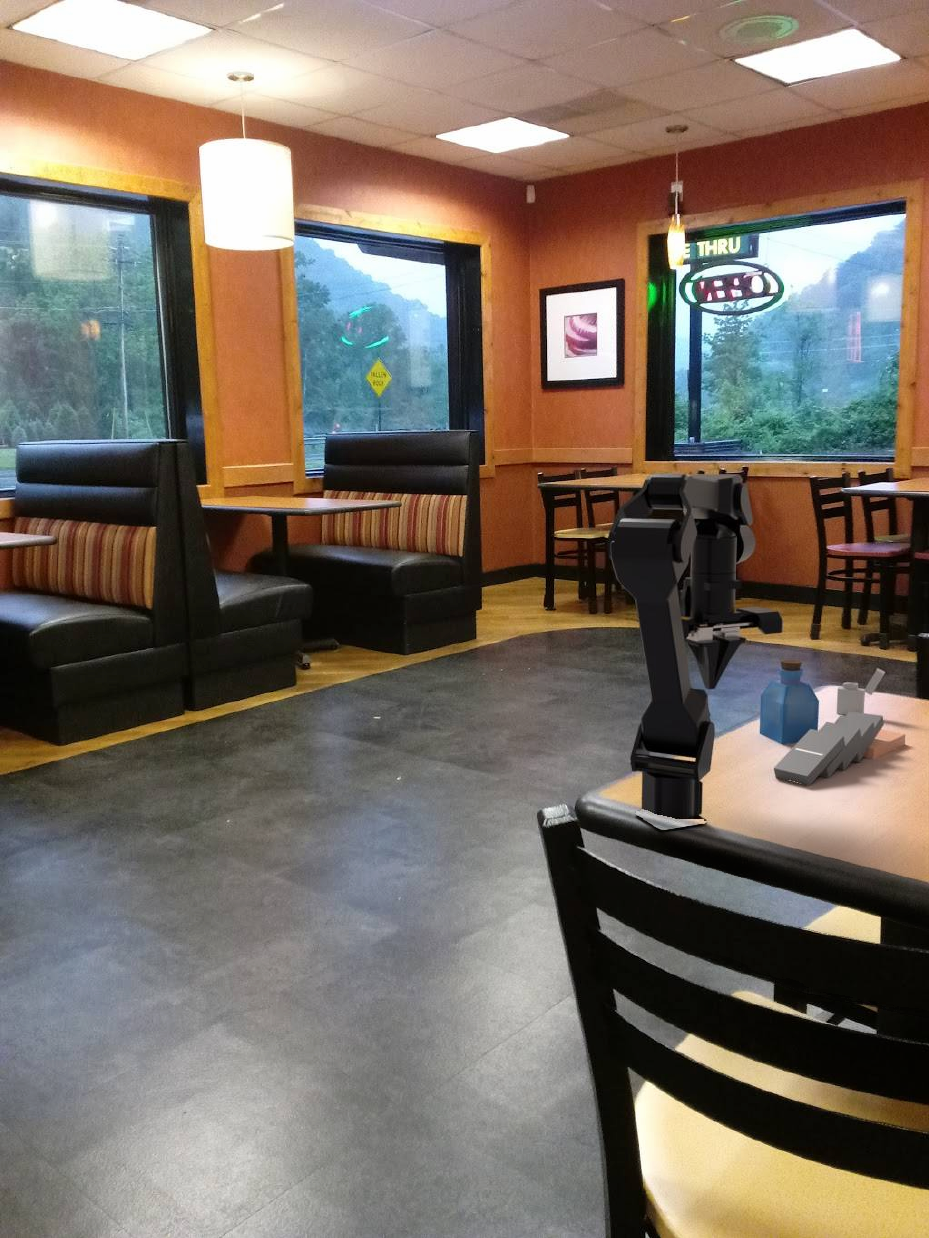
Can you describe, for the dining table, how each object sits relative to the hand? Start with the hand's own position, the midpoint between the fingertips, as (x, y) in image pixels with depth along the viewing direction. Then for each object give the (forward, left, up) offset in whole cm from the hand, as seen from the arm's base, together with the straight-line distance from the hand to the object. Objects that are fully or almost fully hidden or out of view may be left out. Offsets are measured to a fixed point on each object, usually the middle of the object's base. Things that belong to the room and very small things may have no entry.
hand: (709, 688), depth 140 cm
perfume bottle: (+24, +14, -13) cm, 31 cm away
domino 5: (+27, +2, -12) cm, 30 cm away
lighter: (+43, +20, -13) cm, 49 cm away
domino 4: (+23, +1, -12) cm, 26 cm away
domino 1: (+10, -4, -12) cm, 17 cm away
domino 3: (+19, -1, -12) cm, 23 cm away
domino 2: (+15, -2, -12) cm, 20 cm away
